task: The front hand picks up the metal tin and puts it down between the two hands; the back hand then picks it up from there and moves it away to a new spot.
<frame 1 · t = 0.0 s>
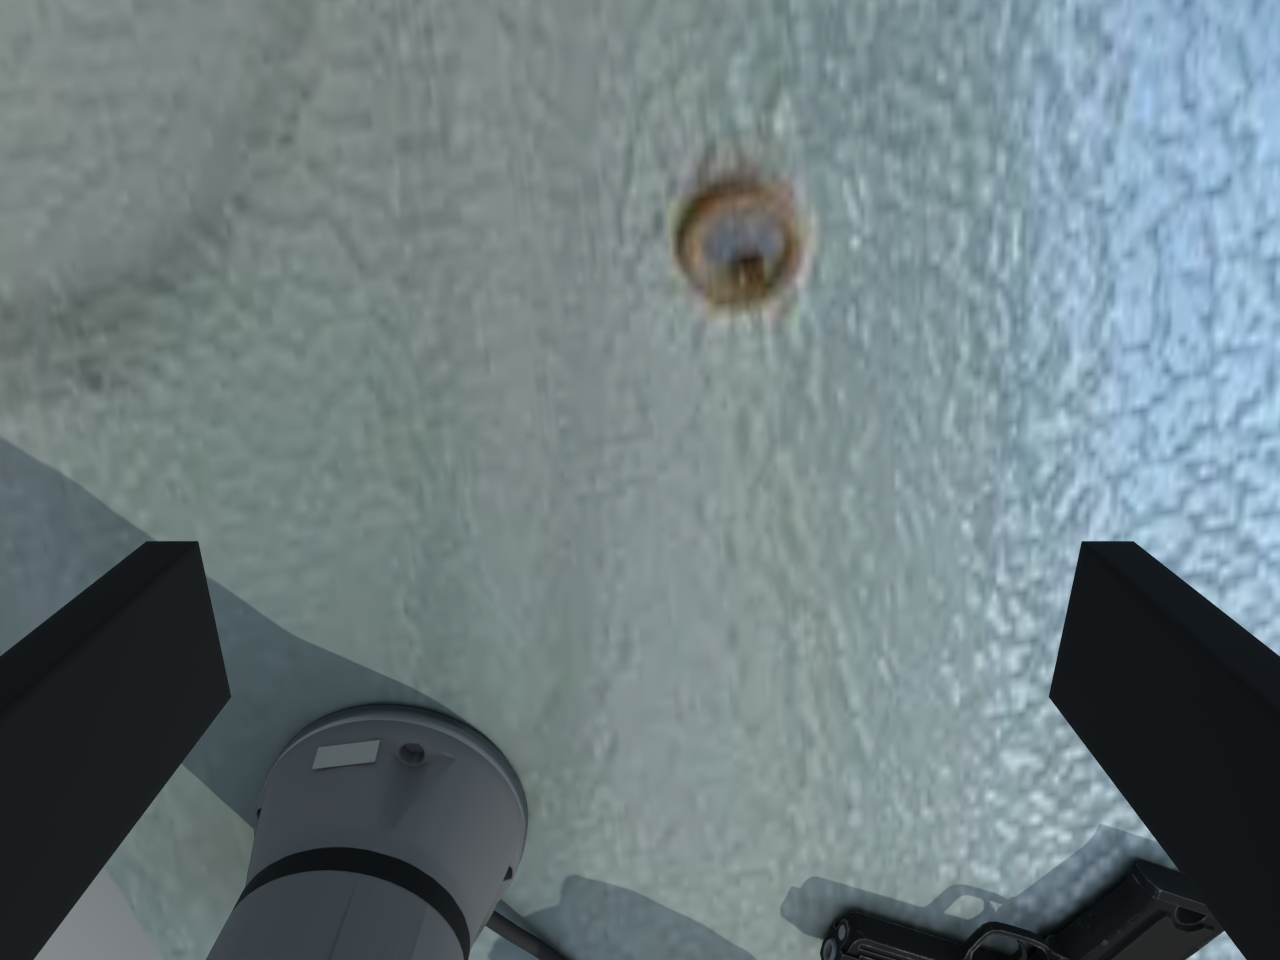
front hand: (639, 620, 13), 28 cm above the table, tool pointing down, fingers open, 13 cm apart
handgun 2: (1012, 915, 53), on the table
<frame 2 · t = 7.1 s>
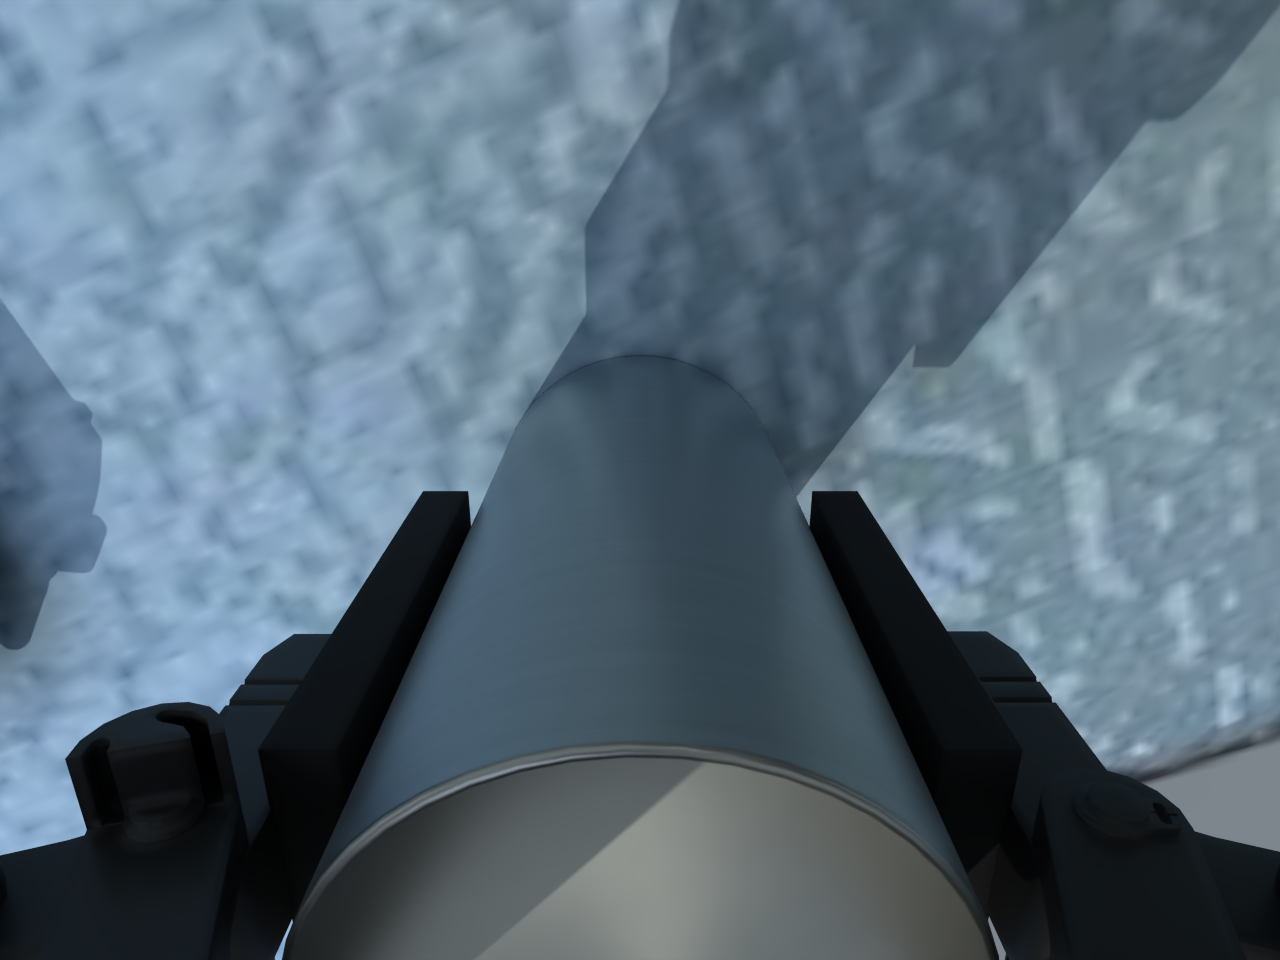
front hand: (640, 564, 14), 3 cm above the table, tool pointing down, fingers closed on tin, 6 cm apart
tin: (640, 489, 18), on the table, touching front hand
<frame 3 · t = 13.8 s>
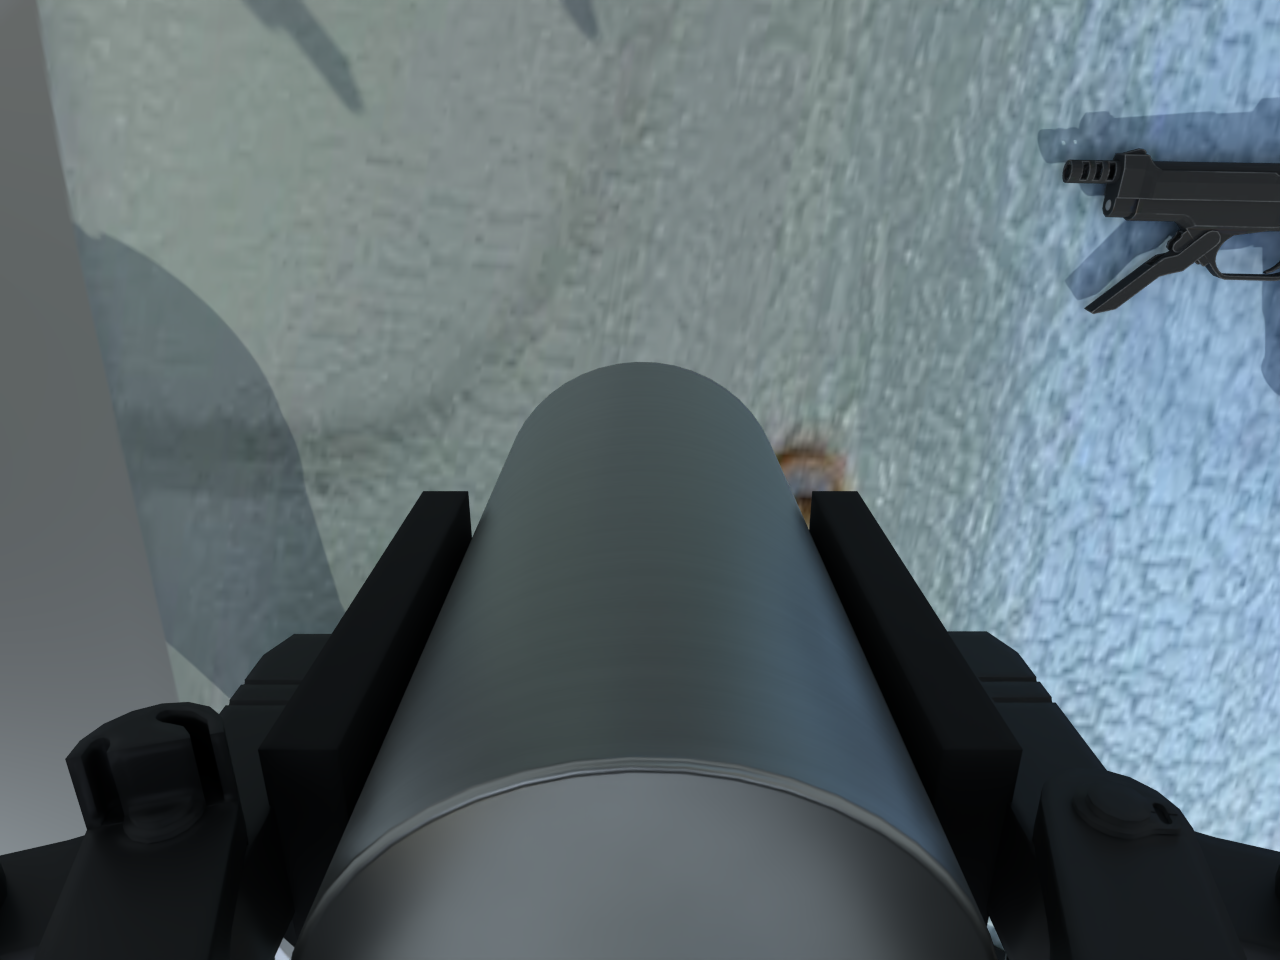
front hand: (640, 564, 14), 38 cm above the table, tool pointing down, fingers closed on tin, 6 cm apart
handgun: (1210, 285, 50), on the table
tin: (641, 495, 18), point 34 cm above the table, touching front hand
when the front hand's fingers open (5 cm above the table, at t = 21.0 s): tin drops 2 cm, on the table.
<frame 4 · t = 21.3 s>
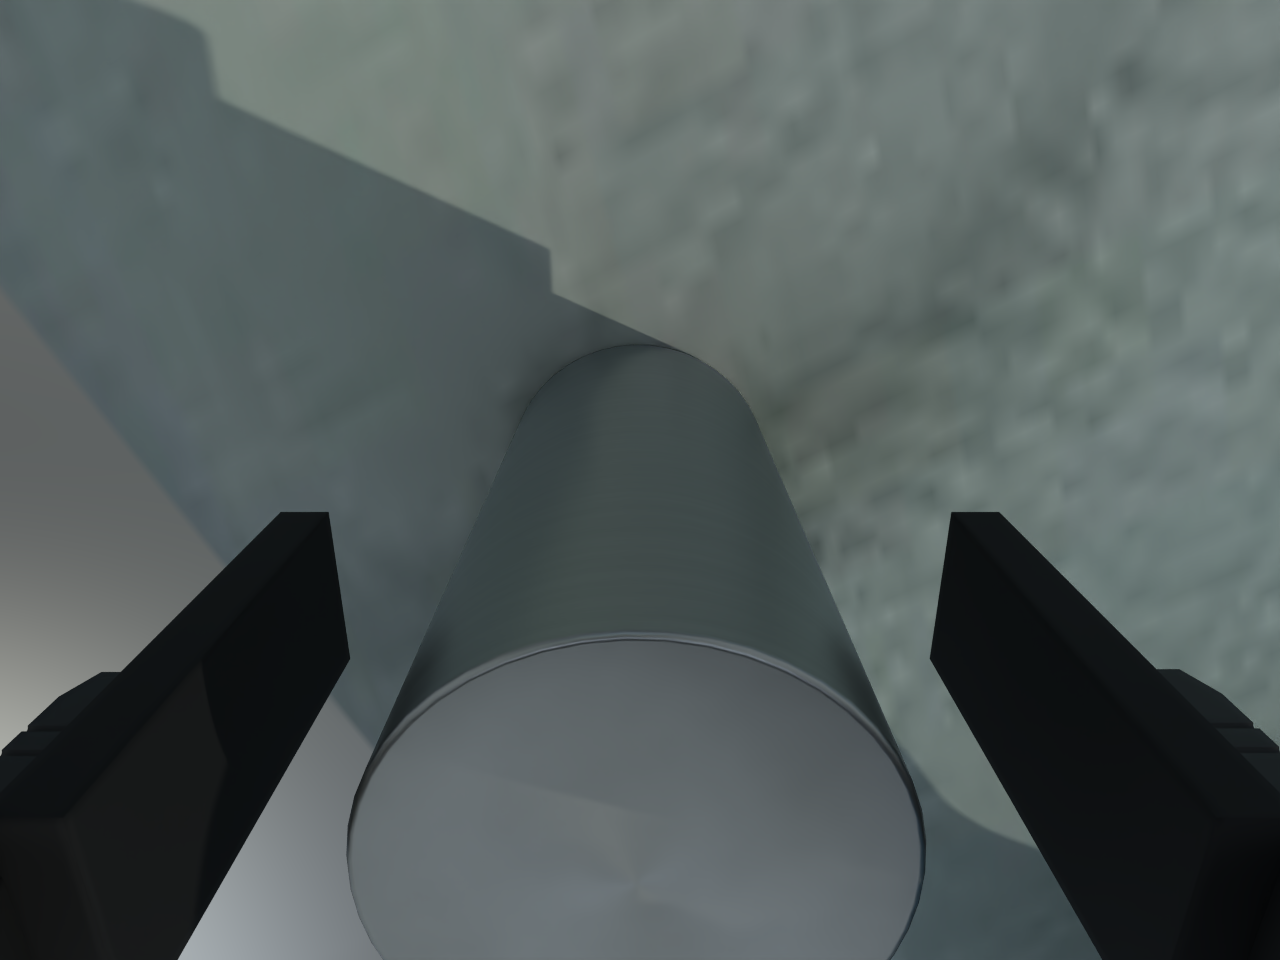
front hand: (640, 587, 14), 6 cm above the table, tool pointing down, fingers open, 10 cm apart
tin: (638, 468, 19), on the table
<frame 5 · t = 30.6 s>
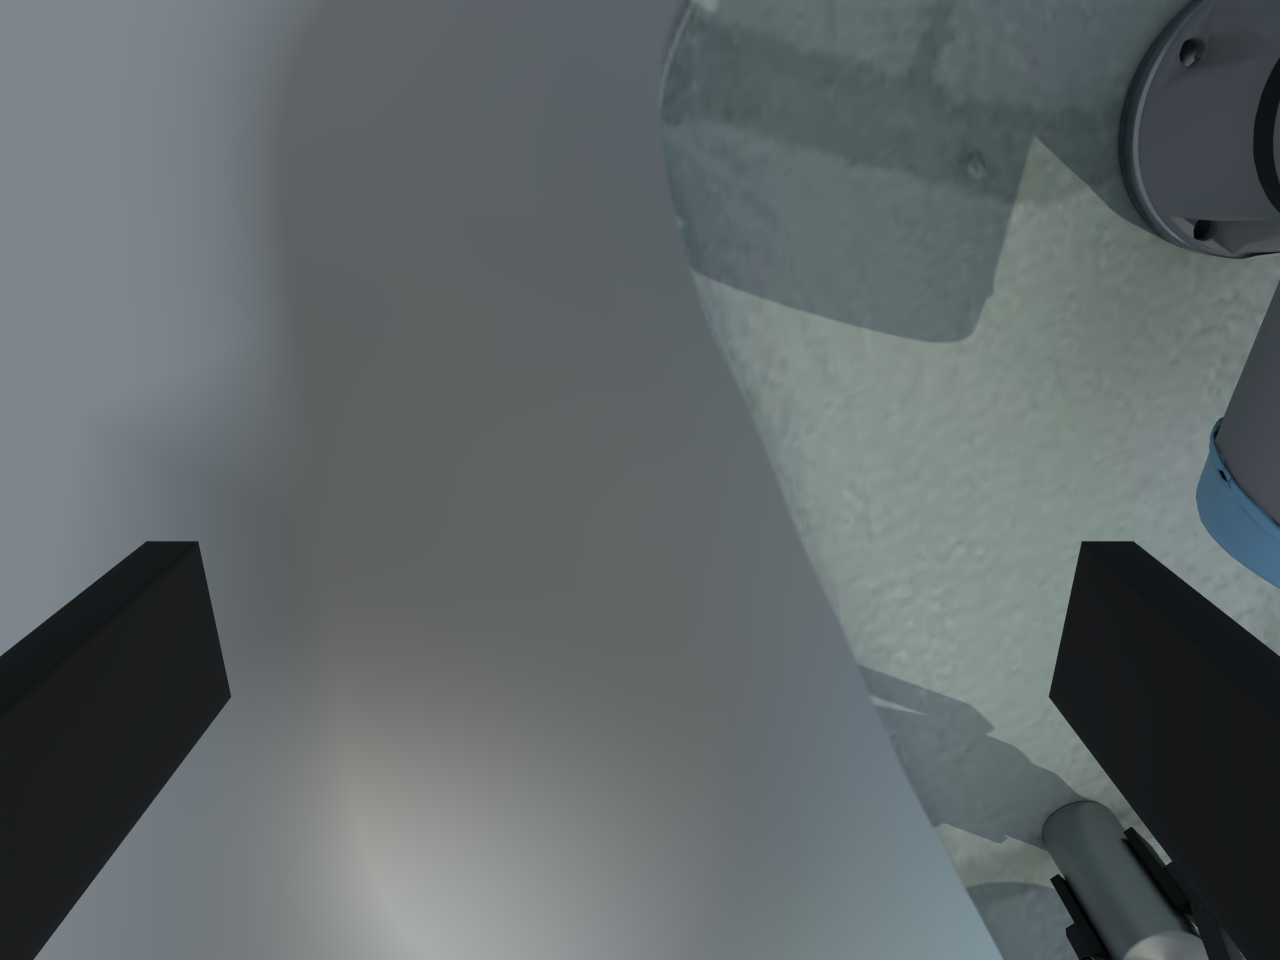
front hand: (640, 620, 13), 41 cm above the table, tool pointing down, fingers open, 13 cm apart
tin: (1078, 829, 66), on the table, touching back hand
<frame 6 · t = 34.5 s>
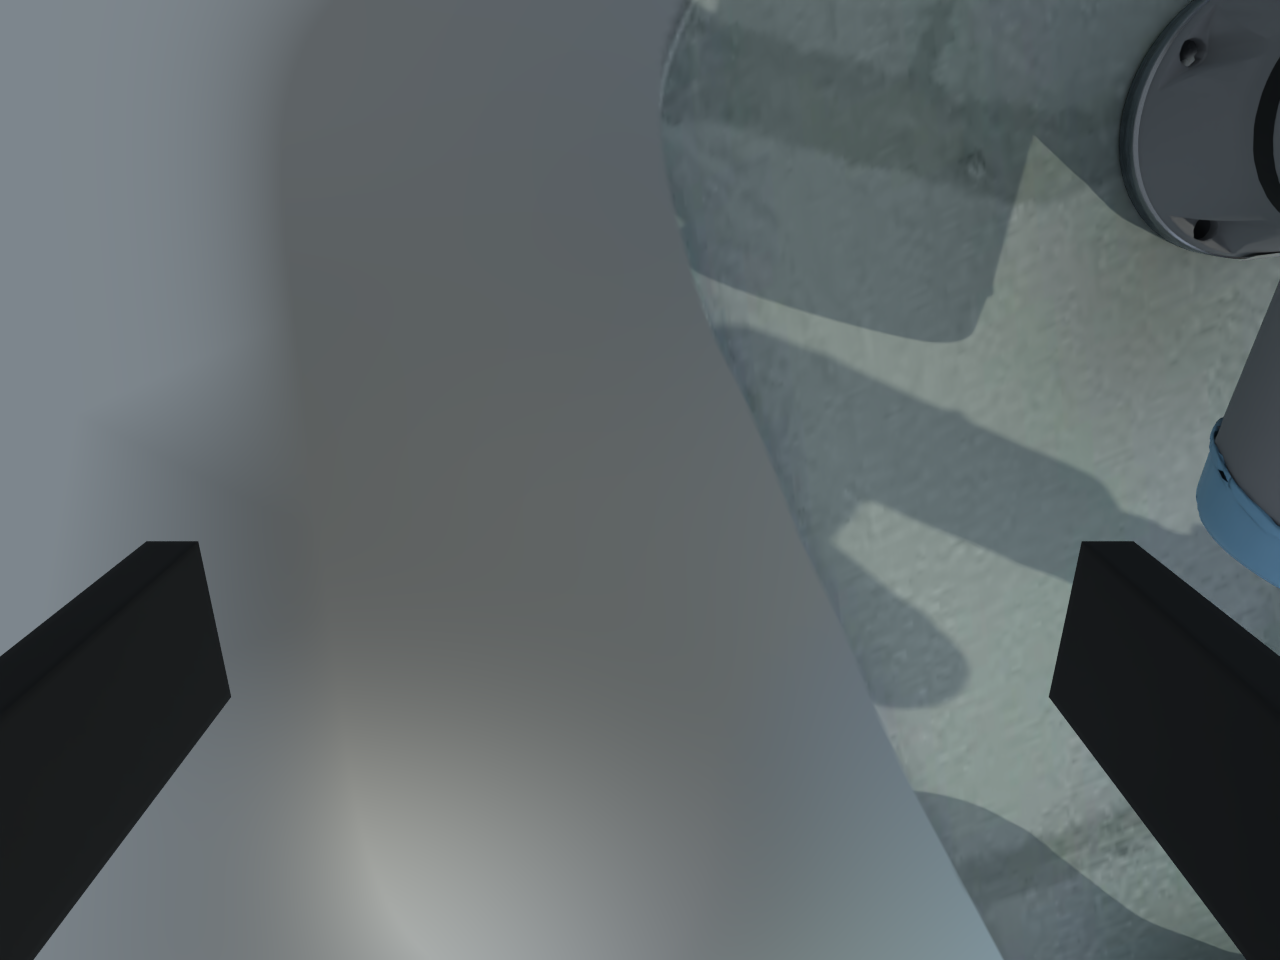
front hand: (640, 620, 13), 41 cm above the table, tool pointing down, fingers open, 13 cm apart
when the back hand's fingers open (5 cm above the table, at t = 38.5 s): tin drops 2 cm, on the table.
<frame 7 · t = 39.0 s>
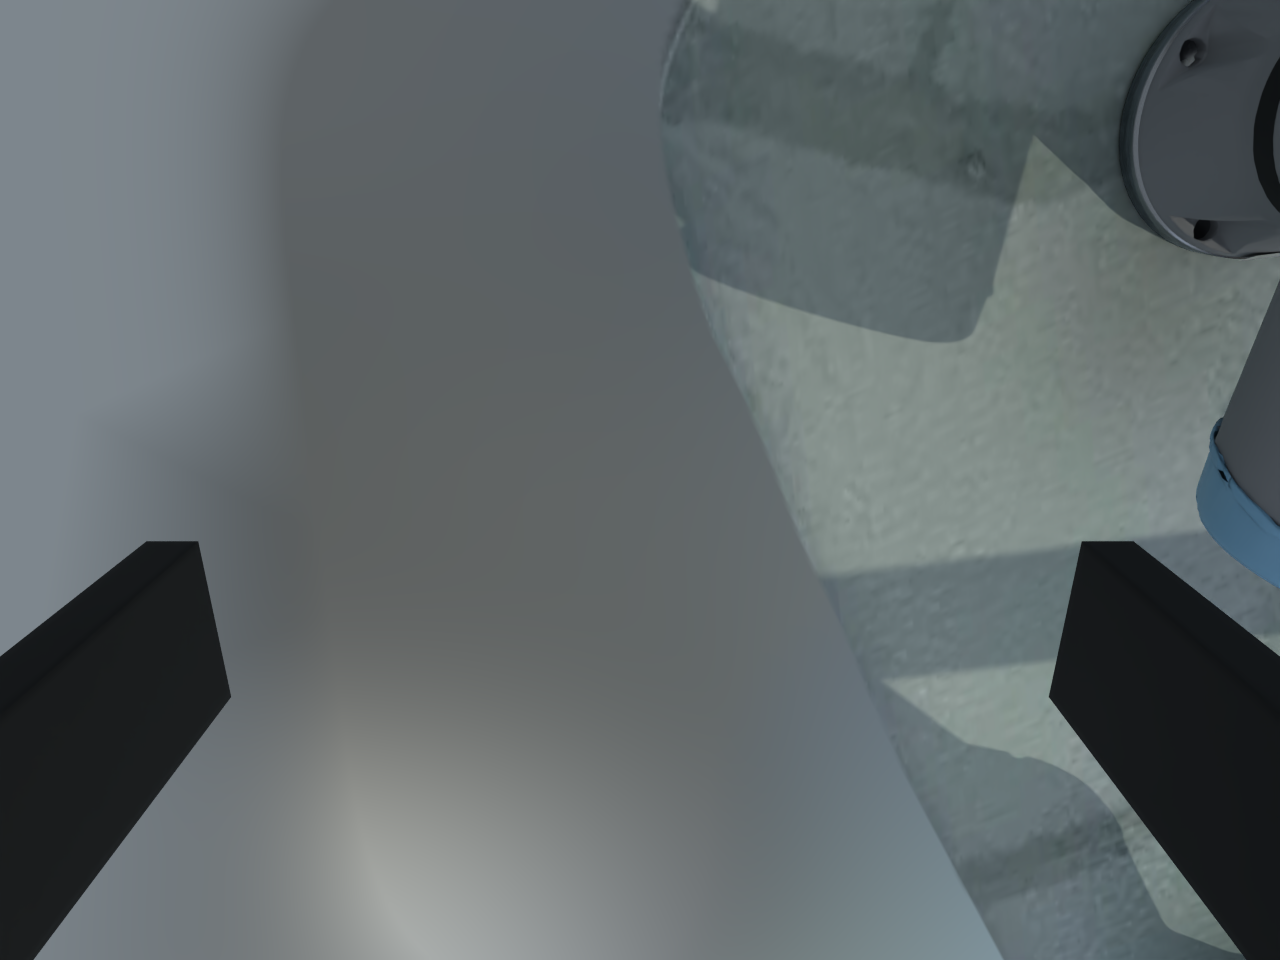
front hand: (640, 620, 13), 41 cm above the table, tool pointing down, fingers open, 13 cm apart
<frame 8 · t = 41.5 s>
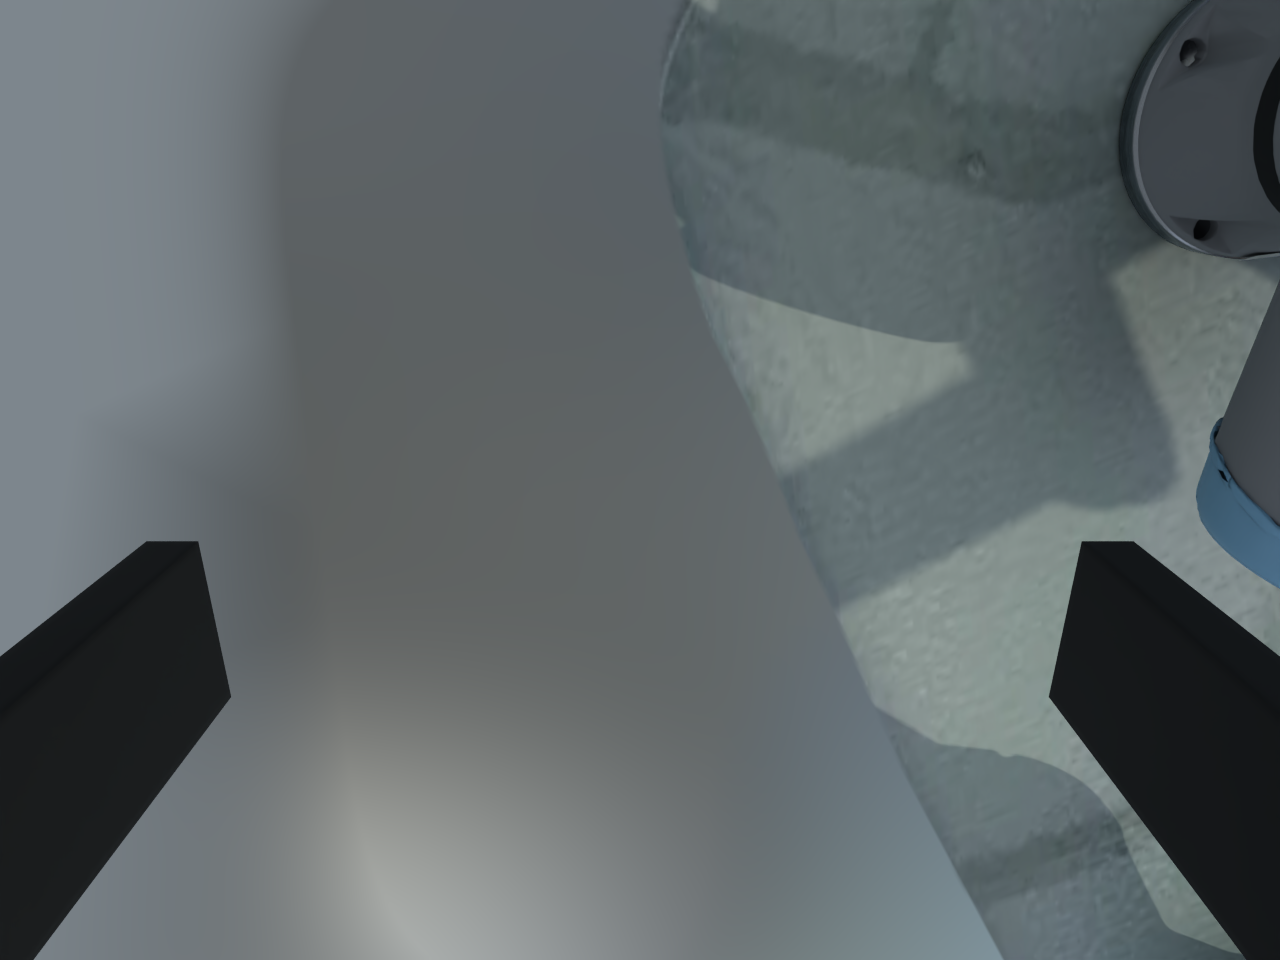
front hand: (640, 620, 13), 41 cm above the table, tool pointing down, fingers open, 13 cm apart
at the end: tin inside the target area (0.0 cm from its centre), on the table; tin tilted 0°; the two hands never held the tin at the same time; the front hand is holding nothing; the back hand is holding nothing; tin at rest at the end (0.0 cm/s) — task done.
